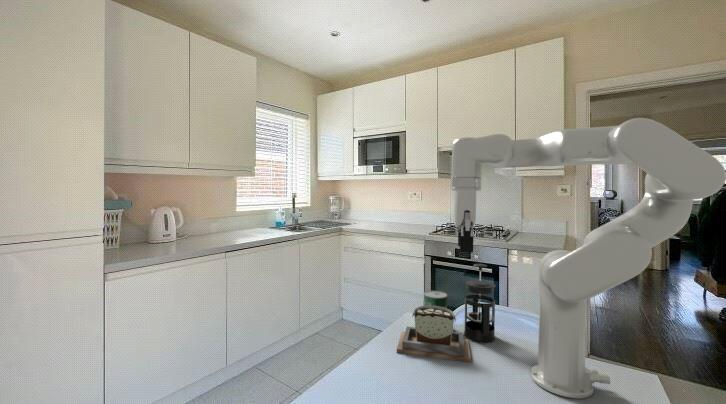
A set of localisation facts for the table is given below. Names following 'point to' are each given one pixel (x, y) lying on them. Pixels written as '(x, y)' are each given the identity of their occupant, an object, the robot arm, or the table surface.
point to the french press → (479, 321)
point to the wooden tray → (434, 346)
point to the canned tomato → (435, 298)
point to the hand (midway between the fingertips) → (465, 249)
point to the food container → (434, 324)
